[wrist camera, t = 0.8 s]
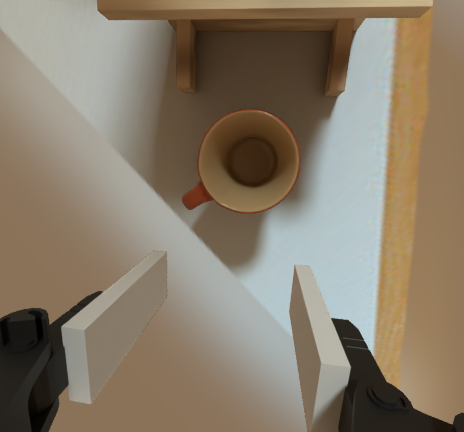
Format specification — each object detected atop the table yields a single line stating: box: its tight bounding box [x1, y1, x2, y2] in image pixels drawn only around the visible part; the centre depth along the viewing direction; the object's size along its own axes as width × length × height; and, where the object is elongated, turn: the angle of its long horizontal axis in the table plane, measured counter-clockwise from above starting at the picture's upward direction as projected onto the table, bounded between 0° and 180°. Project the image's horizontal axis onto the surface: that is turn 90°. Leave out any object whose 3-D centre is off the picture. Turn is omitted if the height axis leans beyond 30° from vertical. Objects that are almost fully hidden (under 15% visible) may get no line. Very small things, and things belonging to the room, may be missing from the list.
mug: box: [182, 109, 300, 213], centre depth 27 cm, size 12×9×10 cm
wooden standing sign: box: [97, 0, 433, 96], centre depth 22 cm, size 8×20×15 cm, turn 87°
